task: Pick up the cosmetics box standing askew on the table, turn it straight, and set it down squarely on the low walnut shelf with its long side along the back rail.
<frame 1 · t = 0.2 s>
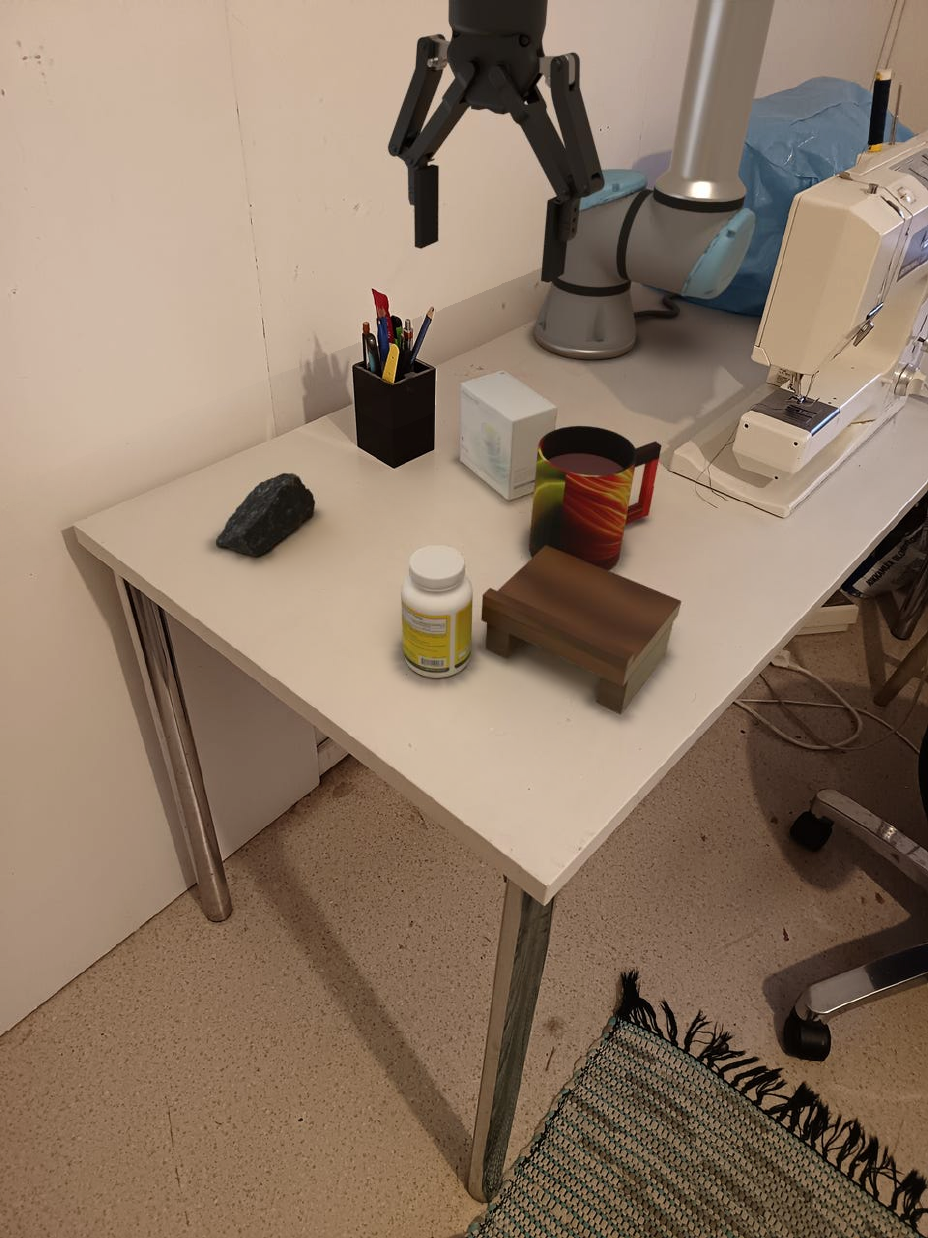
hand: (487, 260, 79), 28 cm above the table, tool pointing down, fingers open, 13 cm apart
mug: (582, 541, 94), on the table
rock: (268, 533, 94), on the table
pill bottle: (436, 658, 80), on the table
cosmetics box: (503, 475, 104), on the table
shelf: (575, 652, 81), on the table
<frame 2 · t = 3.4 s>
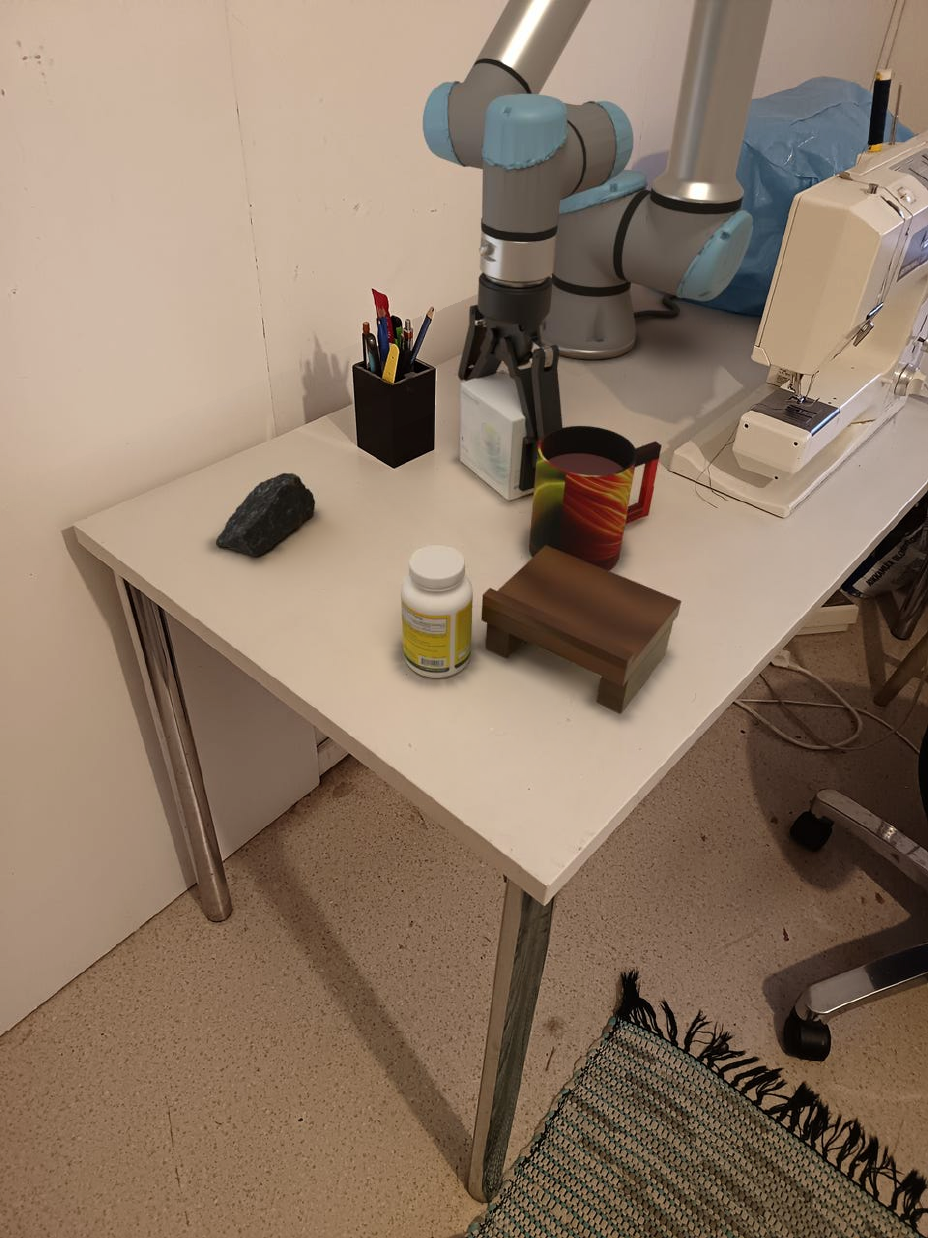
hand: (503, 463, 103), 1 cm above the table, tool pointing down, fingers closed on cosmetics box, 11 cm apart
cosmetics box: (503, 475, 104), on the table, touching gripper
everything else where it was.
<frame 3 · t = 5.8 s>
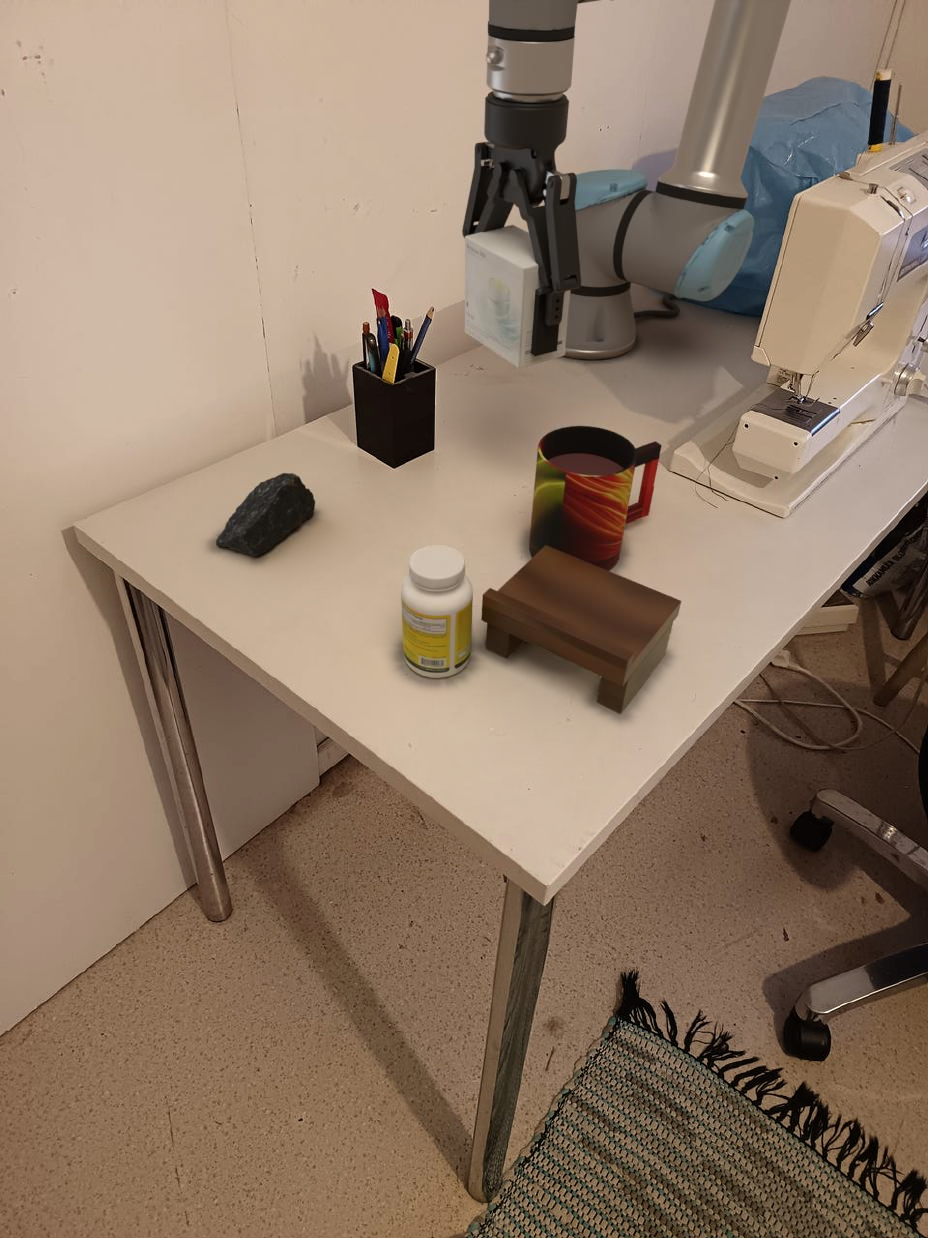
hand: (513, 331, 93), 17 cm above the table, tool pointing down, fingers closed on cosmetics box, 11 cm apart
cosmetics box: (512, 346, 94), point 16 cm above the table, touching gripper
everything else where it was.
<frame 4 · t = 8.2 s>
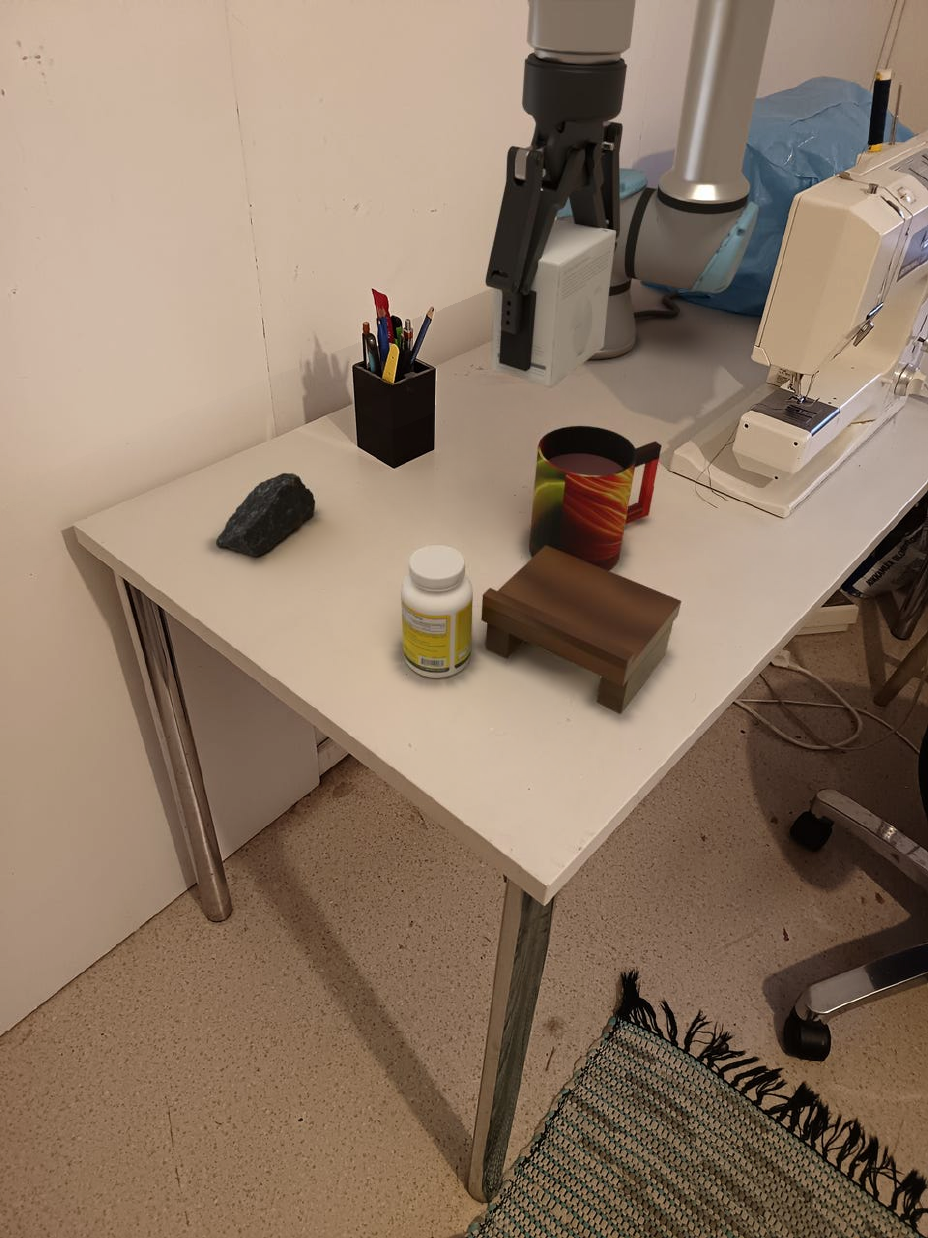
hand: (548, 344, 78), 22 cm above the table, tool pointing down, fingers closed on cosmetics box, 11 cm apart
cosmetics box: (546, 361, 79), point 21 cm above the table, touching gripper
everything else where it was.
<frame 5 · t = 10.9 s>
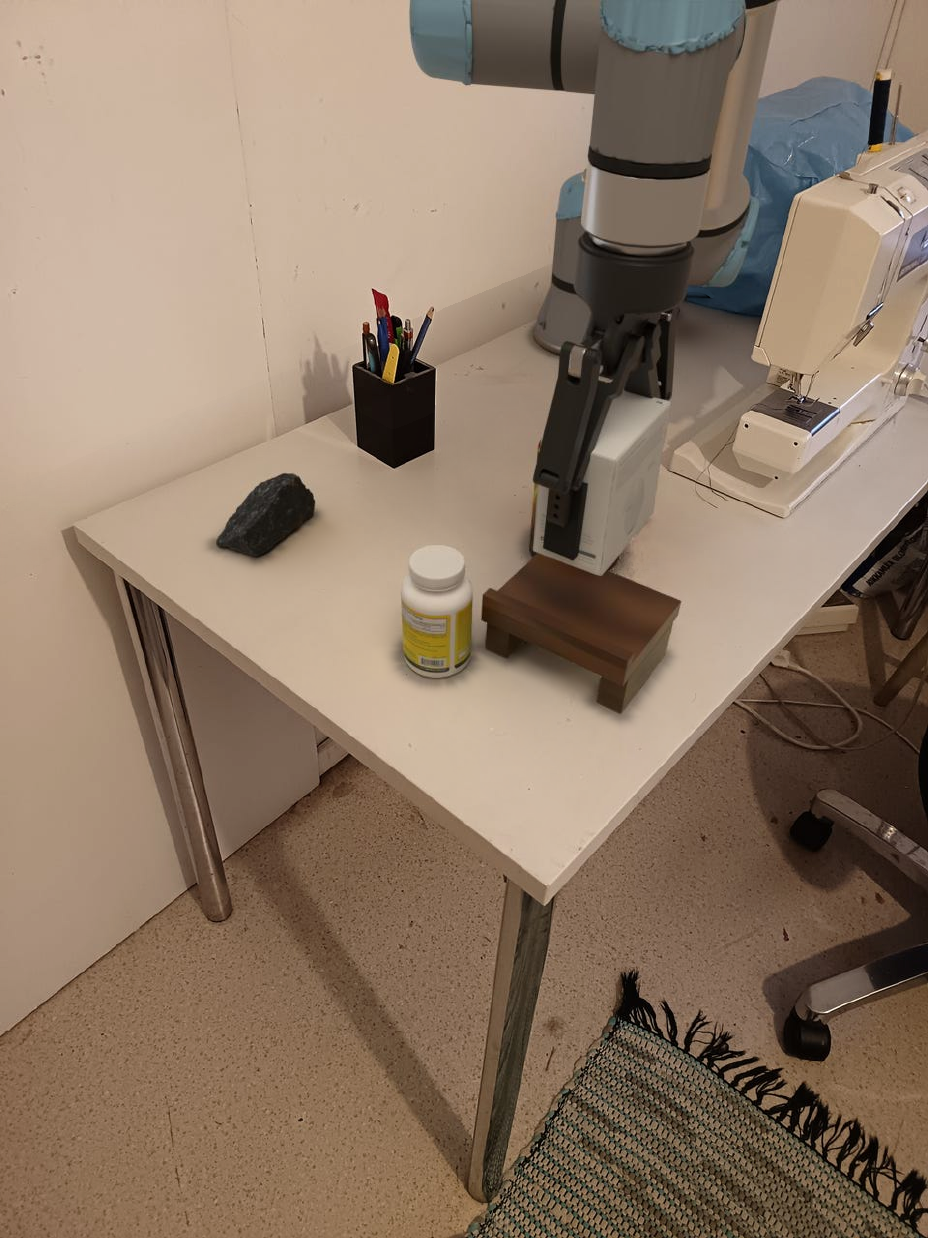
hand: (595, 518, 71), 15 cm above the table, tool pointing down, fingers closed on cosmetics box, 11 cm apart
cosmetics box: (592, 534, 72), point 13 cm above the table, touching gripper
everything else where it was.
when the fingers open (9 cm above the table, at t = 13.0 s): cosmetics box stays where it is, resting on shelf.
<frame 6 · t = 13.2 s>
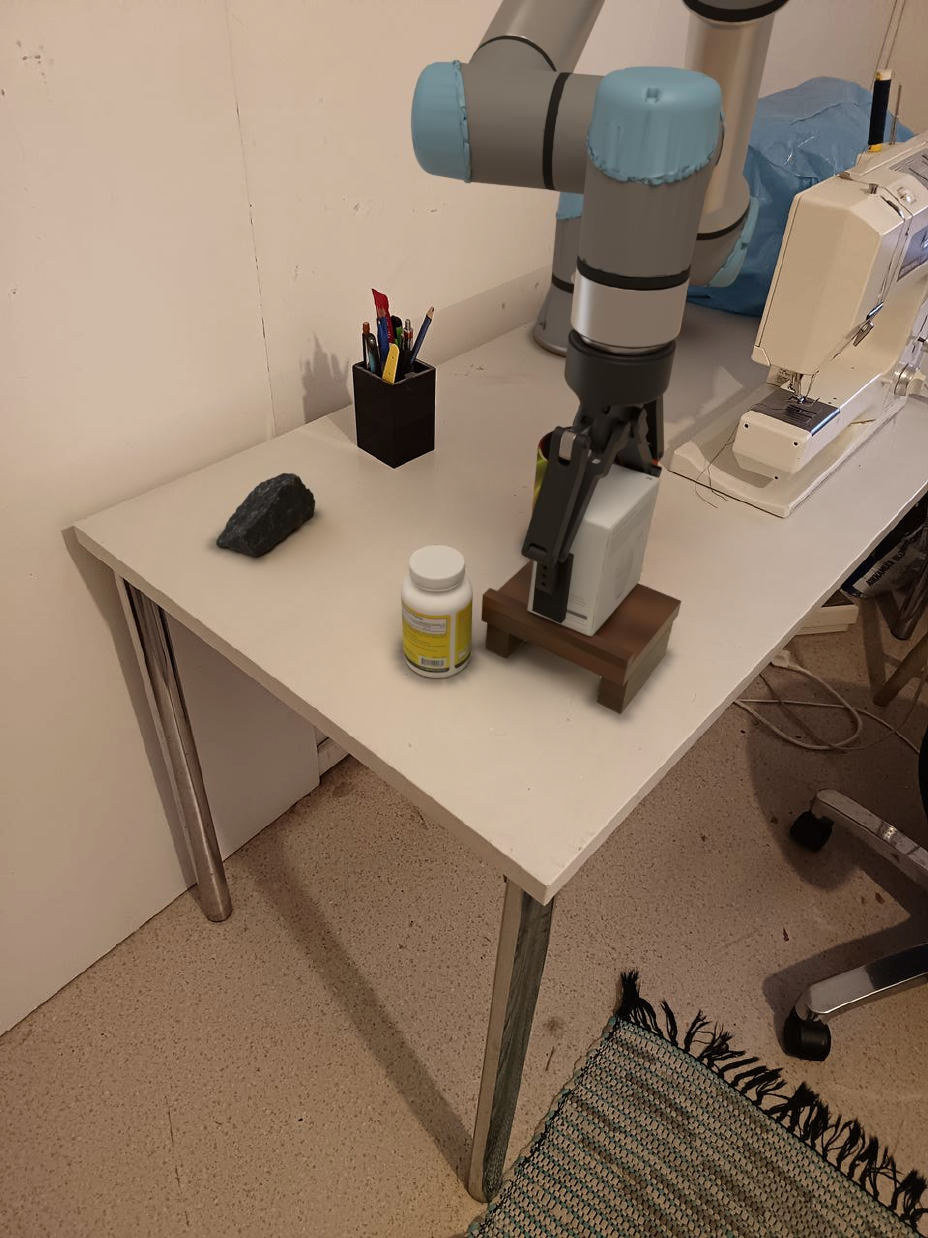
hand: (586, 575, 75), 9 cm above the table, tool pointing down, fingers open, 12 cm apart
cosmetics box: (582, 597, 77), point 7 cm above the table, touching gripper, shelf
everything else where it was.
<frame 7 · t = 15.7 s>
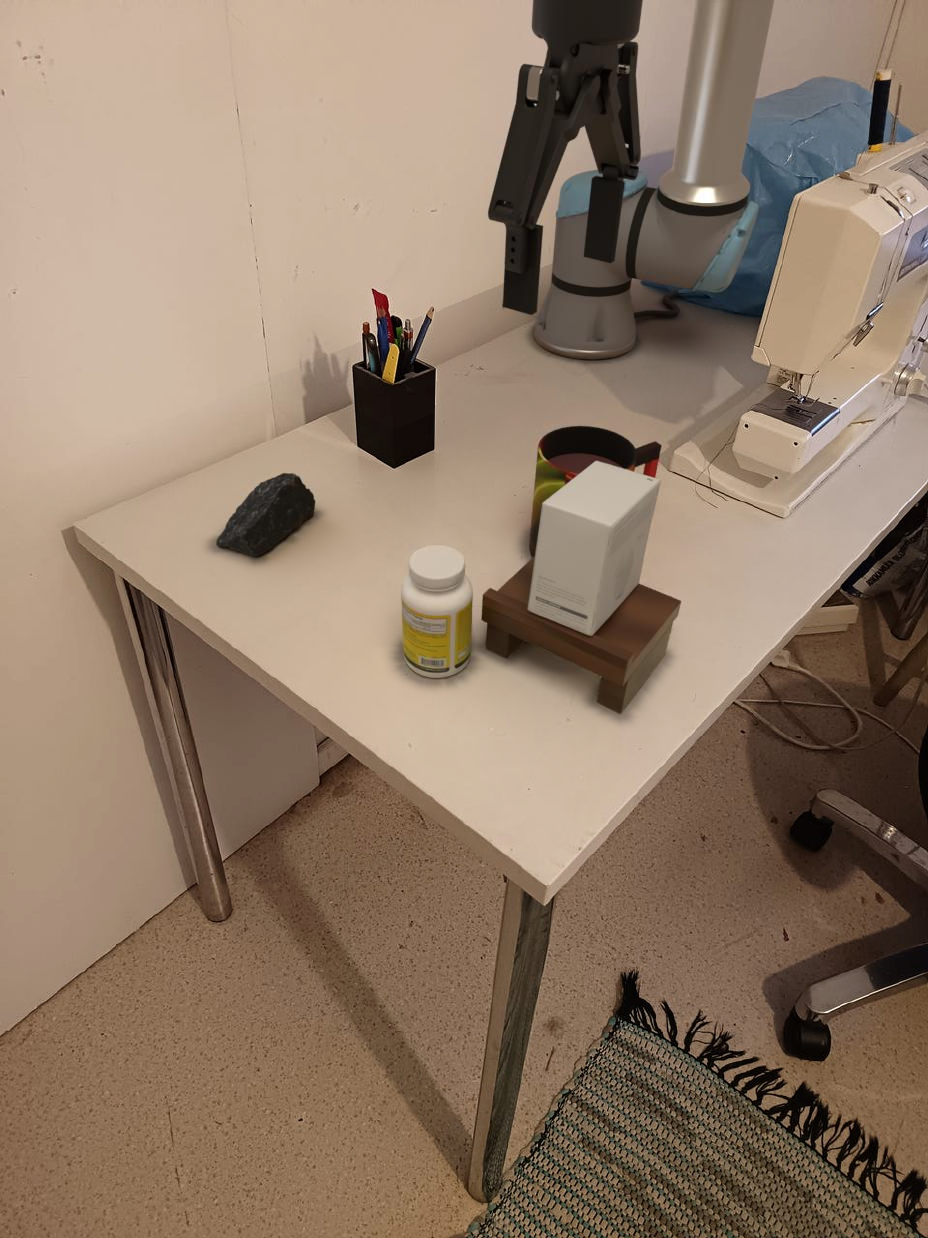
hand: (561, 283, 73), 28 cm above the table, tool pointing down, fingers open, 13 cm apart
cosmetics box: (582, 598, 77), point 6 cm above the table, touching shelf
everything else where it was.
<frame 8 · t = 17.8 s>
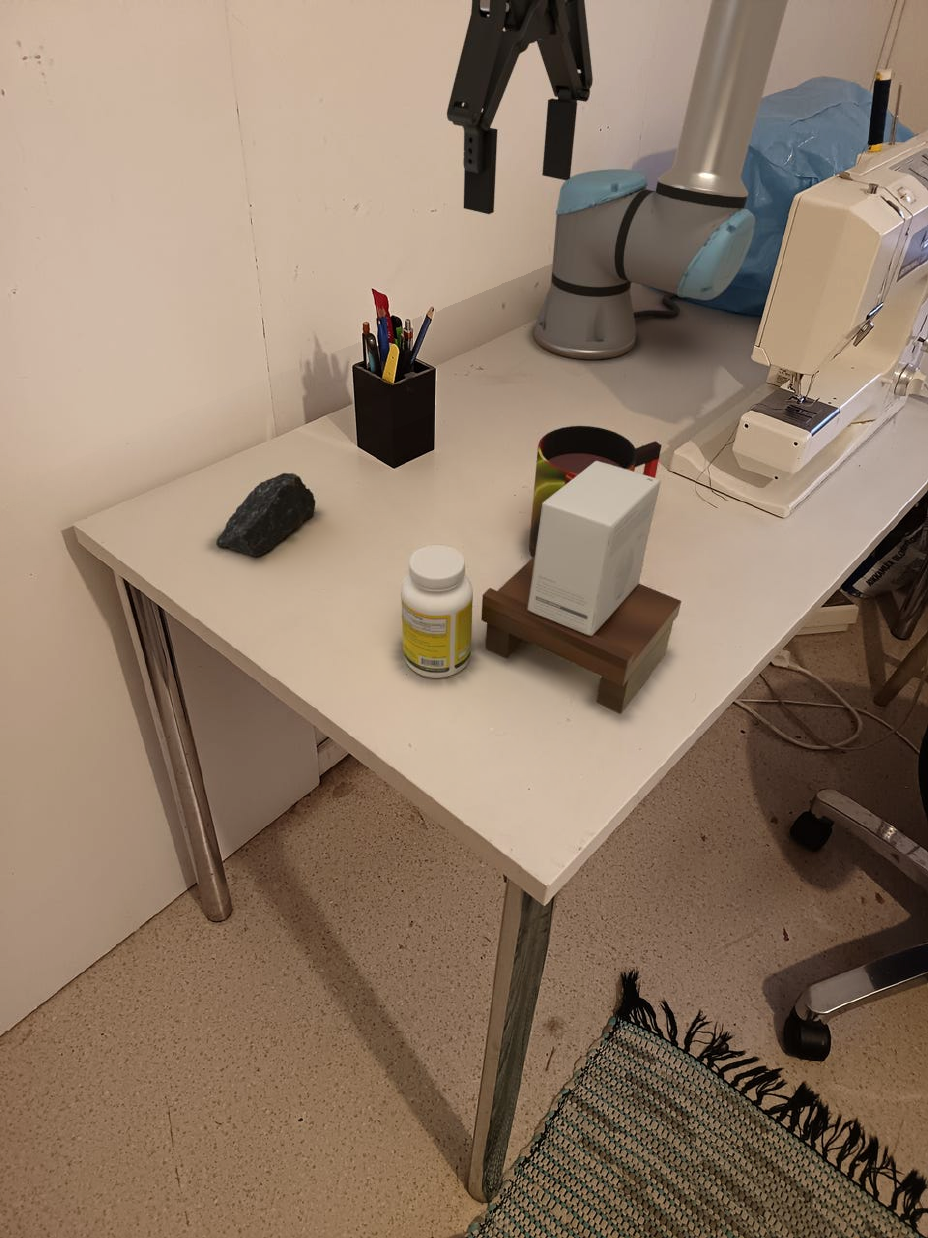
hand: (519, 193, 81), 32 cm above the table, tool pointing down, fingers open, 13 cm apart
nothing on the table moved.
at the end: cosmetics box inside the target area on the shelf (0.1 cm from its centre), point 6.5 cm above the shelf's base; cosmetics box tilted 7°; the gripper is holding nothing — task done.
